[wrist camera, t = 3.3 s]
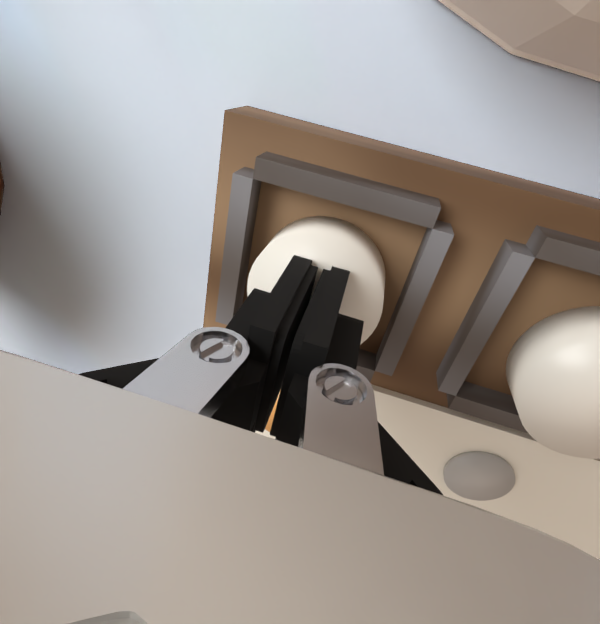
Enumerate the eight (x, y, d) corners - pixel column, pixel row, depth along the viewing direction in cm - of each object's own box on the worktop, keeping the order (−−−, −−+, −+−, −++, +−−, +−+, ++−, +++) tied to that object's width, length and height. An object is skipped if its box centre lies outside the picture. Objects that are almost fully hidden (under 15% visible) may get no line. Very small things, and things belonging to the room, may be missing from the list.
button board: (247, 105, 13) (210, 112, 11) (1045, 317, 12) (1225, 385, 9) (211, 389, 20) (184, 434, 18) (707, 550, 18) (755, 626, 16)
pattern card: (226, 338, 16) (221, 346, 15) (819, 525, 14) (832, 538, 14) (214, 425, 19) (210, 433, 18) (712, 590, 17) (720, 603, 16)
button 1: (274, 200, 12) (258, 215, 11) (403, 236, 12) (403, 257, 11) (254, 310, 14) (239, 334, 13) (364, 343, 14) (359, 371, 13)
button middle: (549, 288, 11) (569, 317, 10) (703, 331, 11) (746, 369, 9) (482, 394, 13) (491, 431, 12) (608, 433, 13) (633, 476, 11)
